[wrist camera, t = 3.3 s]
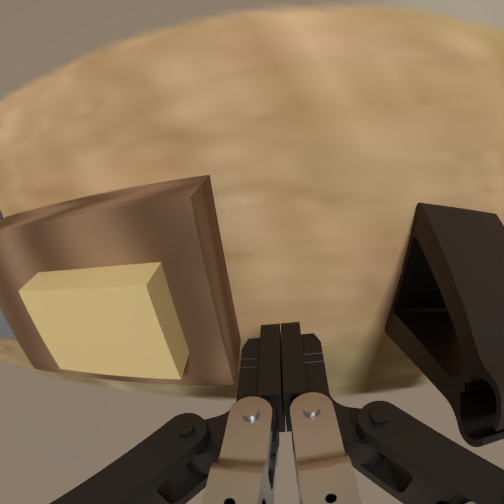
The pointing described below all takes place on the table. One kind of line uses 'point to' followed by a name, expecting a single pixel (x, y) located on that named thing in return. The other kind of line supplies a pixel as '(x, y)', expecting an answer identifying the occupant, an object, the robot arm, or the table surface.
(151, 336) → the yellow block
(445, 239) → the phone stand
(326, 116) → the table surface
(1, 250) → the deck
